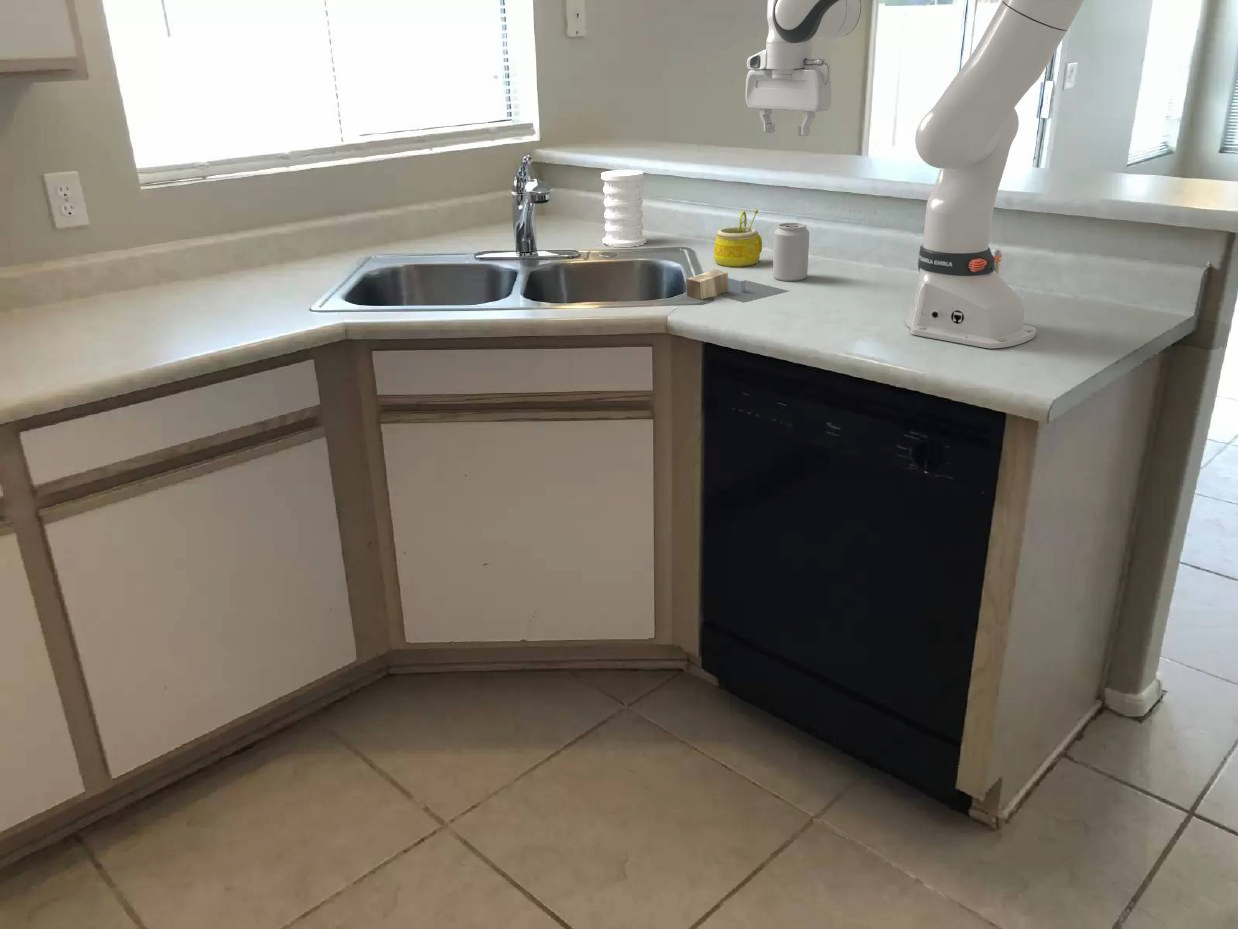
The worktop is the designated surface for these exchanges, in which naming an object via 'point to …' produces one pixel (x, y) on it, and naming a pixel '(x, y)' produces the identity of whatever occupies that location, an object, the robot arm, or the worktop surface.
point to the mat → (752, 292)
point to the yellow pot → (738, 245)
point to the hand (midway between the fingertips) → (785, 134)
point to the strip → (736, 284)
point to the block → (707, 284)
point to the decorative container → (623, 207)
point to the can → (791, 252)
